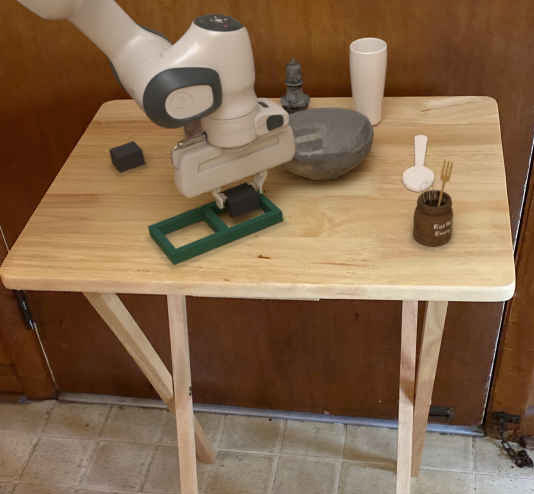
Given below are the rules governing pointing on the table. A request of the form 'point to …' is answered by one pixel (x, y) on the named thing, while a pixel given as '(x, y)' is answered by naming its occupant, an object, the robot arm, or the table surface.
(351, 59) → the drinking glass
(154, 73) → the robot arm
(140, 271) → the table surface
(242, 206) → the pad
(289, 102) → the dark grey tiered figurine
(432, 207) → the utensil holder
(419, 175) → the spoon
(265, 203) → the green divided frame
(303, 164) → the bowl
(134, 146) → the pad
